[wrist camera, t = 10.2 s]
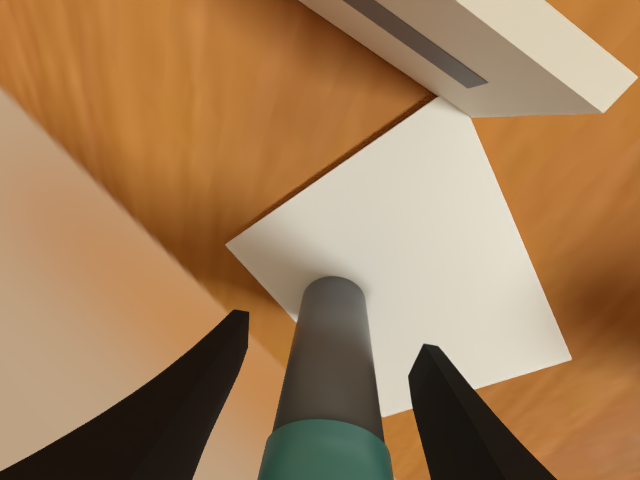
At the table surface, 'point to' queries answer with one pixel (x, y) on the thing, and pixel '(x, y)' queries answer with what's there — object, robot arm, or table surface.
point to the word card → (487, 53)
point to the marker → (329, 394)
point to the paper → (415, 255)
